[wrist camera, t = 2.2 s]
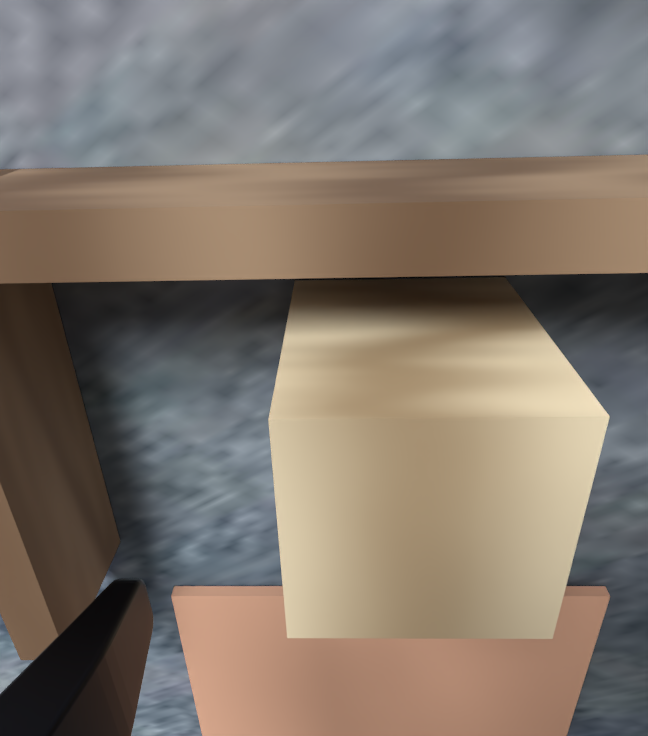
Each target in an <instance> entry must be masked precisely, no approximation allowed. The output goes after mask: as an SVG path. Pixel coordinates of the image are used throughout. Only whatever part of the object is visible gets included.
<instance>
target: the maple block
mask: <svg viewBox="0 0 648 736" xmlns="http://www.w3.org/2000/svg"><path fill="white" fill-rule="evenodd" d="M609 418H610V416H609V415H608V414H607V412H606V411H605V410H604V408H603V407H602V406H601V404H600V403H599V402H598V400H597V399H596V398H595V396H594V395H593V394H592V392H591V391H590V390H589V388H588V387H587V386H586V384H585V383H584V382H583V380H582V379H581V378H580V376H579V375H578V374H577V372H576V371H575V370H574V368H573V367H572V366H571V364H570V363H569V362H568V360H567V359H566V358H565V356H564V355H563V354H562V352H561V351H560V350H559V348H558V347H557V346H556V344H555V343H554V342H553V340H552V339H551V338H550V336H549V335H548V334H547V332H546V331H545V330H544V328H543V327H542V326H541V324H540V323H539V322H538V320H537V319H536V318H535V316H534V315H533V314H532V312H531V311H530V310H529V308H528V307H527V306H526V304H525V303H524V302H523V300H522V299H521V298H520V296H519V295H518V294H517V292H516V291H515V290H514V288H513V287H512V286H511V284H510V283H509V282H508V280H507V279H506V278H505V277H484V278H423V279H362V280H301V281H295V282H294V288H293V293H292V298H291V303H290V309H289V314H288V319H287V324H286V330H285V335H284V340H283V346H282V351H281V356H280V361H279V367H278V372H277V377H276V382H275V388H274V393H273V398H272V403H271V409H270V414H269V419H268V421H269V432H270V444H271V456H272V467H273V479H274V490H275V502H276V514H277V525H278V537H279V549H280V560H281V572H282V583H283V595H284V607H285V618H286V630H287V638H401V639H553V635H554V631H555V627H556V623H557V620H558V616H559V612H560V608H561V604H562V600H563V596H564V592H565V588H566V585H567V581H568V577H569V573H570V569H571V565H572V561H573V557H574V554H575V550H576V546H577V542H578V538H579V534H580V530H581V526H582V522H583V519H584V515H585V511H586V507H587V503H588V499H589V495H590V491H591V487H592V484H593V480H594V476H595V472H596V468H597V464H598V460H599V456H600V453H601V449H602V445H603V441H604V437H605V433H606V429H607V425H608V421H609Z"/></svg>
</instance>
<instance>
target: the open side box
mask: <svg viewBox="0 0 648 736" xmlns="http://www.w3.org/2000/svg"><path fill="white" fill-rule="evenodd" d="M608 273H648V155H614V156H570V157H526V158H482V159H439V160H395V161H351V162H307V163H263V164H220V165H176V166H132V167H88V168H44V169H1V170H0V614H1V616H2V618H3V621H4V623H5V625H6V627H7V630H8V632H9V634H10V637H11V639H12V641H13V643H14V646H15V648H16V650H17V652H18V655H19V657H20V659H21V660H35V659H36V658H37V657H38V656H39V655H40V654H41V653H42V652H43V651H44V650H45V649H46V648H47V647H48V646H49V645H50V644H51V643H52V642H53V641H54V640H55V639H56V638H57V637H58V636H59V635H60V634H61V633H62V632H63V631H64V630H65V629H66V628H67V627H68V626H69V625H70V624H71V623H72V622H73V621H74V620H75V619H76V618H77V617H78V616H79V615H80V614H81V613H82V612H83V611H84V610H85V609H86V608H87V607H88V606H89V605H90V604H91V603H92V602H93V601H94V600H95V598H96V595H97V593H98V591H99V589H100V586H101V584H102V582H103V580H104V578H105V575H106V573H107V571H108V569H109V566H110V564H111V562H112V560H113V557H114V555H115V553H116V551H117V548H118V546H119V544H120V538H119V534H118V531H117V527H116V523H115V519H114V516H113V512H112V508H111V504H110V501H109V497H108V493H107V490H106V486H105V482H104V478H103V475H102V471H101V467H100V463H99V460H98V456H97V452H96V448H95V445H94V441H93V437H92V433H91V430H90V426H89V422H88V418H87V415H86V411H85V407H84V404H83V400H82V396H81V392H80V389H79V385H78V381H77V377H76V374H75V370H74V366H73V362H72V359H71V355H70V351H69V347H68V344H67V340H66V336H65V332H64V329H63V325H62V321H61V318H60V314H59V310H58V306H57V303H56V299H55V295H54V291H53V288H52V284H51V283H64V282H124V281H185V280H245V279H306V278H366V277H426V276H487V275H547V274H608Z"/></svg>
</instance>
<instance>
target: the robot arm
mask: <svg viewBox="0 0 648 736" xmlns="http://www.w3.org/2000/svg"><path fill="white" fill-rule="evenodd" d="M152 629H153V613H152V609H151V605H150V601H149V597H148V593H147V589H146V585H145V583H144V581H143V580H142V579H139V578H121V579H117V580H115V581H113V582H112V583H111V584H110V585H109V586H108V587H107V588H106V589H105V590H104V591H103V592H102V593H101V594H100V595H99V596H98V597H97V598H96V599H95V600H94V601H93V602H92V603H91V604H90V605H89V606H88V607H87V608H86V609H85V610H84V611H83V612H82V613H81V614H80V615H79V616H78V617H77V618H76V619H75V620H74V621H73V622H72V623H71V624H70V625H69V626H68V627H67V628H66V629H65V630H64V631H63V632H62V633H61V634H60V635H59V636H58V637H57V638H56V639H55V640H54V641H53V642H52V643H51V644H50V645H49V646H48V647H47V648H46V649H45V650H44V651H43V652H42V653H41V654H40V655H39V656H38V657H37V658H36V659H35V660H34V661H33V662H32V663H31V664H30V665H29V666H28V667H27V668H26V669H25V670H24V671H23V672H22V673H21V674H20V675H19V676H18V677H17V678H16V679H15V680H14V681H13V682H12V683H11V684H10V685H9V686H8V687H7V688H6V689H5V690H4V691H3V692H2V693H1V694H0V736H131V732H132V728H133V723H134V719H135V714H136V709H137V704H138V699H139V694H140V689H141V684H142V679H143V674H144V669H145V664H146V659H147V654H148V649H149V645H150V640H151V635H152Z"/></svg>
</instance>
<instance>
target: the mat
mask: <svg viewBox="0 0 648 736" xmlns="http://www.w3.org/2000/svg"><path fill="white" fill-rule="evenodd" d="M171 597H172V602H173V606H174V611H175V615H176V620H177V624H178V629H179V633H180V638H181V642H182V647H183V651H184V656H185V660H186V665H187V669H188V674H189V678H190V683H191V687H192V691H193V696H194V700H195V705H196V709H197V714H198V718H199V723H200V727H201V732H202V736H567V733H568V730H569V727H570V724H571V720H572V717H573V714H574V711H575V708H576V704H577V701H578V698H579V695H580V692H581V688H582V685H583V682H584V679H585V676H586V672H587V669H588V666H589V663H590V660H591V657H592V653H593V650H594V647H595V644H596V641H597V637H598V634H599V631H600V628H601V625H602V621H603V618H604V615H605V612H606V609H607V605H608V602H609V599H610V595H609V593H608V591H607V589H606V587H605V586H566V588H565V592H564V596H563V600H562V604H561V608H560V612H559V616H558V620H557V623H556V627H555V631H554V635H553V639H401V638H287V630H286V618H285V607H284V595H283V586H174V589H173V592H172V595H171Z"/></svg>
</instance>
